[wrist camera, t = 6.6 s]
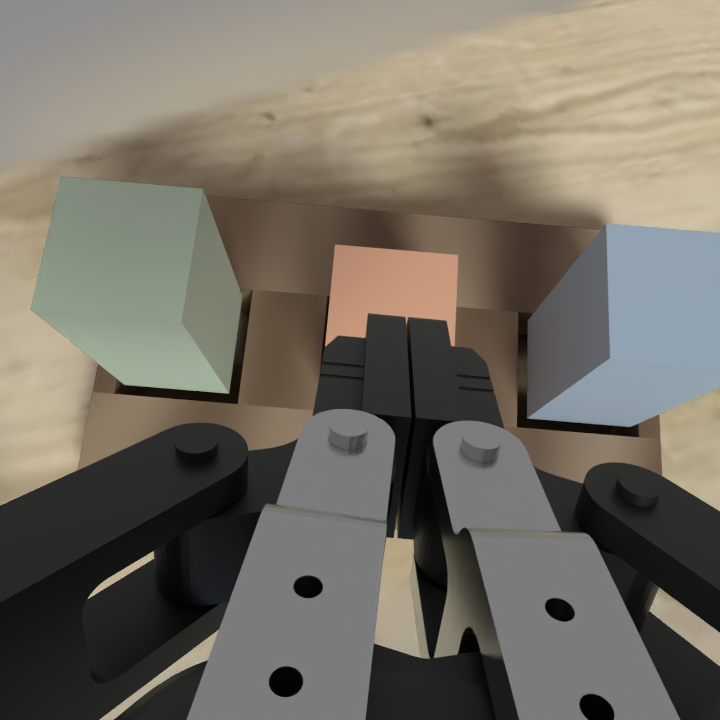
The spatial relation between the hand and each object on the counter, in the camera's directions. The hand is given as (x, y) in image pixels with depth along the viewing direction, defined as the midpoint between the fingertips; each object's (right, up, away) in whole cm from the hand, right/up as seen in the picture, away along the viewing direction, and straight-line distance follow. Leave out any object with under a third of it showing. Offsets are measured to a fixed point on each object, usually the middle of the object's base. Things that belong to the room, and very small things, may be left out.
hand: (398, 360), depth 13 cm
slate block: (+9, -1, +16) cm, 18 cm away
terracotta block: (0, -1, +19) cm, 19 cm away
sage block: (-8, +1, +16) cm, 18 cm away
